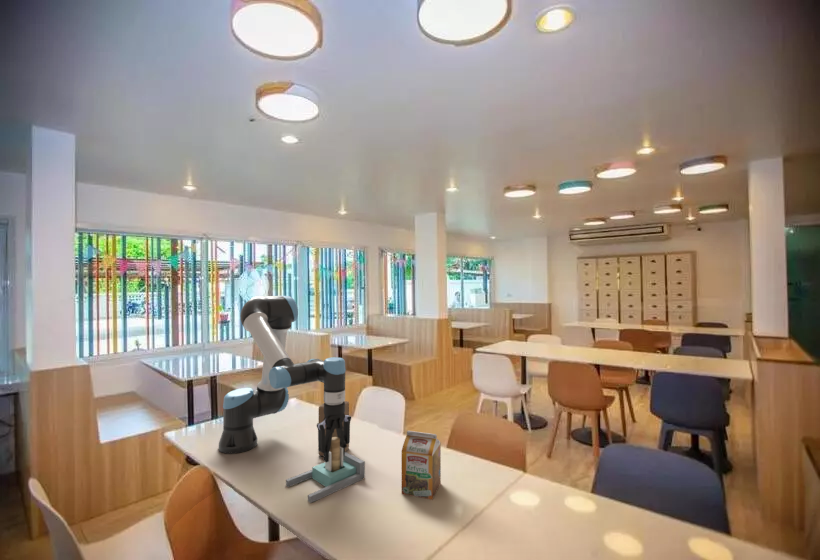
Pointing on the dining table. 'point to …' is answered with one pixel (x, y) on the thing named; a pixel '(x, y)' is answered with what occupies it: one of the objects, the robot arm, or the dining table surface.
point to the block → (321, 417)
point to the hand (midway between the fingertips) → (334, 467)
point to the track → (336, 486)
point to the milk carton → (421, 465)
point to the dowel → (335, 454)
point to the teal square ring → (332, 473)
